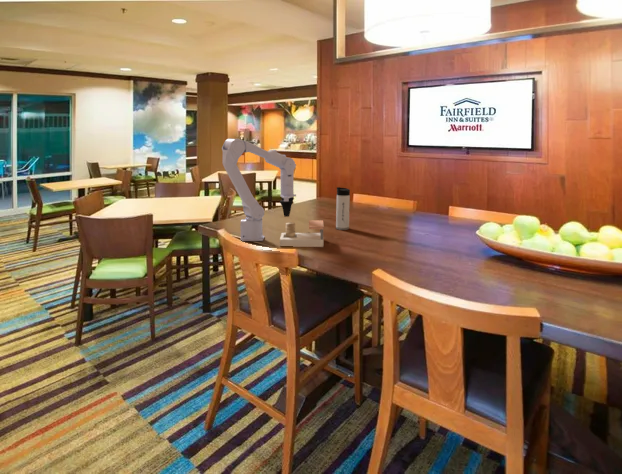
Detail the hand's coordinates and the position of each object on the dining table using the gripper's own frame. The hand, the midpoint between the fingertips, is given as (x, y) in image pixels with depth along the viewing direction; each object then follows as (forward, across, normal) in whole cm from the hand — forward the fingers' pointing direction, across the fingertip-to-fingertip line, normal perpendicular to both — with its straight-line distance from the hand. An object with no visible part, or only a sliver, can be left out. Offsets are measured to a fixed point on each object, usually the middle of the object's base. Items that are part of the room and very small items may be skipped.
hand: (287, 214), depth 193 cm
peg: (+9, -14, -2) cm, 17 cm away
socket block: (+9, -14, -7) cm, 18 cm away
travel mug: (+10, +14, -26) cm, 31 cm away
